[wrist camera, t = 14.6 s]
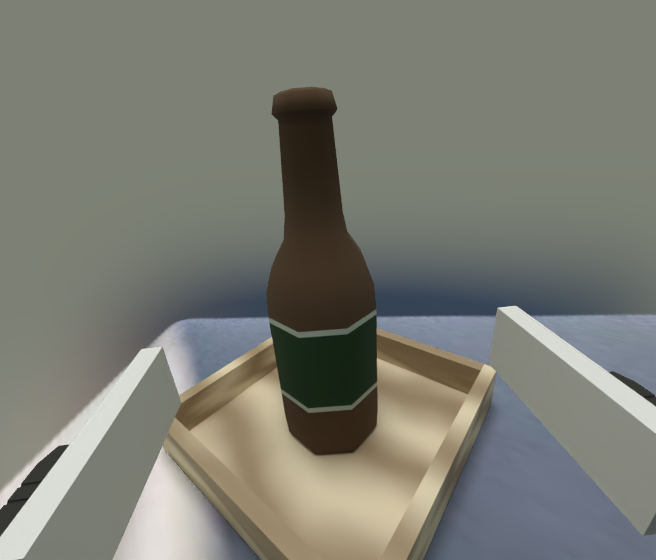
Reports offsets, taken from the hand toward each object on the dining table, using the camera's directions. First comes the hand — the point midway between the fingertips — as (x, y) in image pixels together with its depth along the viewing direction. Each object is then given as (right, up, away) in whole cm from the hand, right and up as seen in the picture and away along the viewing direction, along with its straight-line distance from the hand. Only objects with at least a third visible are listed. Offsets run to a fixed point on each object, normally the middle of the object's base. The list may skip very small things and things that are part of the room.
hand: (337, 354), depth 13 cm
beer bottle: (0, -9, +14) cm, 17 cm away
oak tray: (0, -10, +14) cm, 17 cm away
